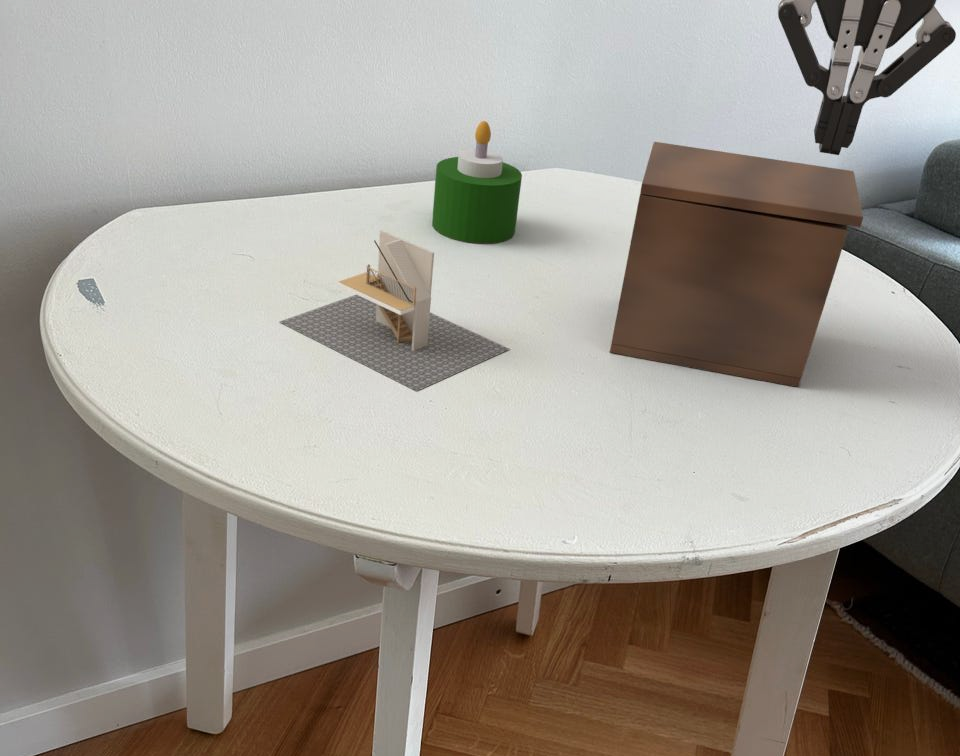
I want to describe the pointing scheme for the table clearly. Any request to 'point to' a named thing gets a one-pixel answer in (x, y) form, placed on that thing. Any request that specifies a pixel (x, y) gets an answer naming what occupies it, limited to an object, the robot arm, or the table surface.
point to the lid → (753, 184)
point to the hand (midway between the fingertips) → (828, 150)
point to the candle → (476, 194)
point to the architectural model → (396, 321)
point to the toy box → (725, 288)
